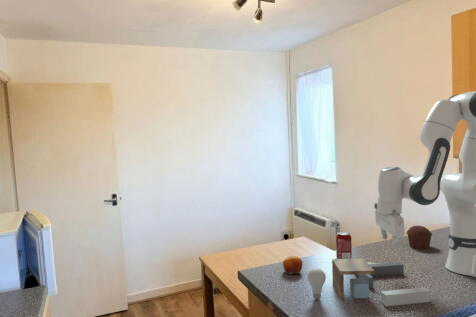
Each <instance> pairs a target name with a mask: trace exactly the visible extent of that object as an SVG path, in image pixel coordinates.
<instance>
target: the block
mask: <svg viewBox="0 0 476 317" xmlns="http://www.w3.org/2000/svg"><path fill="white" fill-rule="evenodd" d="M349 290H350V291H349V292H350V294H351V296H353V298H354V299H370V288H369V284H368V283H367V281H366V280H365V279H364V278H358V277H357V278H349Z"/></svg>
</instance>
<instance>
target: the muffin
mask: <svg viewBox="0 0 476 317" xmlns="http://www.w3.org/2000/svg"><path fill="white" fill-rule="evenodd" d="M406 235H407V237H408V238H407V239H408V244H409V247H410V248H413V249H418V250H428V249H430V245H431V244H430V243H431V240H432V236H433V233H432V232H431V230H429V229H428V228H427V227H425V226H423V225H413V226H410V227H409V229H407V231H406Z"/></svg>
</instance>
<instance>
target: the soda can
mask: <svg viewBox="0 0 476 317" xmlns="http://www.w3.org/2000/svg"><path fill="white" fill-rule="evenodd" d="M336 233H337V234H336V236H335V246H336V247H335V258H336V259H353V257H352V255H353V253H352V252H353V251H352V250H353V249H352V236H351V233H350V232H349V231H345V230H341V231H337V232H336Z"/></svg>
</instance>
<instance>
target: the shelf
mask: <svg viewBox="0 0 476 317" xmlns="http://www.w3.org/2000/svg"><path fill="white" fill-rule="evenodd" d="M331 260H332V261H331V264H332V265H331V266H332V267H331V268H332V269H331V270H332V271H331V273H332V274H331V275H332V287H333V289H334V290H335V293H336V294H337V296H338V298H339V299H340V301H345V292H344V291H345V290H344V289H345V285H344V284H345V283H344V282H345V280H344V278H345V275H346V276H347V275H350V276H351V275H355V274H375V270H374V269H373V268H372V267H371V266H370V265H369V264H368V263H367V262H368V261H366V260H365V259H364V258H351V259H338V258H332V259H331Z"/></svg>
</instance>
